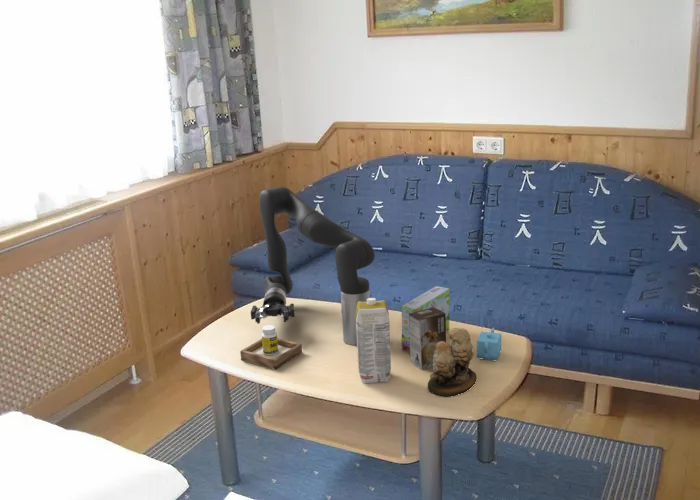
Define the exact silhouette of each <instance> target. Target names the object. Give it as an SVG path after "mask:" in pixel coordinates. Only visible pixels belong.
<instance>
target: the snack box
mask: <svg viewBox="0 0 700 500" xmlns="http://www.w3.org/2000/svg"><path fill="white" fill-rule="evenodd" d="M450 289H451V288H450V287H449V288H447V287H443V286H438V285H436V286H434V287H432V288H431V289H429V290H427V291H426V292H423V293H421V294H420V295H418V296H417V297H414V299H411V300H409V301H408V302H406V303H404V304H403V305H401V350H402V351H406V352H409V353H410V327H409V313H413V312H417V311H421V310H425V309H428V308H432V307H434V308H436V309H439V310H440V311H442V312H444V313H446V331H447V332H449V331H450V305H451V304H450V298H451V296H450V295H451V291H450ZM448 330H449V331H448Z"/></svg>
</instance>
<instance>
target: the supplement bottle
mask: <svg viewBox="0 0 700 500" xmlns="http://www.w3.org/2000/svg"><path fill="white" fill-rule="evenodd" d="M261 330H262V334H261V339H262V345H263V353H264V354H265V355H274V354H276V353H278V341H277V338H278V333H277V331H276V326H275V325H273V324H272V325H271V324H269V325H263V327H262V329H261Z"/></svg>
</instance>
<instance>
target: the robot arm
mask: <svg viewBox="0 0 700 500" xmlns="http://www.w3.org/2000/svg"><path fill="white" fill-rule="evenodd" d="M258 204H259V205H258V206H259V212H260V216H261V221H262V222H261V223H262V227H263V231H264V232H263V233H264V237H265V242H266V259H267V262H266V263H267V268H268V270H269V271H272V272H277V273H279V274H278V275H277V274H275V275H273V274H272V275H271V274H270V275H267V276H266V277H265V278H264V279H263V284H262V285H263V291H264V293H265V294H264V298H263V302H262V305H261V306H260V307H257V305H253V306H252V308H251V310H250V320H255V321H254V322H255V323H257V324H260V323H261V319H266V318H268V317H280V318H283V322H284V323H286V322H287V321H289V319H290V318H295V316H296V314H295V303H290V304H289V305H286V304H287V295H289V294H291V292H292V291H293V286H294V285H293V284H294V283H293V281H292V277H291V273H290V271H289V268H288V254H287V253H288V252H287V250H288V249H287V245H286V243H285V241H284V239H283V237H282V236H281V234H280V233H279V230H278V229H277V226H276V222H275V217H276V215H279V214H280V215H281V214H283V213H284V214H285V213H286V214H289V215H291V216H292V217H294V219H295V221H296V227H297V229H298V231H299V233H300V234H301V235H303V236H304V237H306V238H307V239H309V240H310V241H311V242H313V243H316V244H318V245H322V246H325V247H326V246H327V247H332V248H335V255H334V257H335V267H336V275H337V281H338V285H339V287H340V301H341V302H340V303H341V304H340V306H341V320H342V321H341V322H342V335H343V336H342V338H343V339H342V340H343V342H344V343H345V344H347V345H353V346H357V330H356V309H357V303H358V302H367V299H368V298H371V295H370V282H369V280H368V279H367V278H365V277H361V276H358V270H361V269H364V268H366V267H368V266H370V265H371V264H372V263H373V262H374V261H375V257H376V256H375V251H374V249H373V247H372V245H371V244H370V242H368V241H367V240H366V239H365V238H362V237H361V236H359V235H356V234H354V233H353V232H351V231H348V230H347V229H345V228H343V227H342V226H340V225H339V224H337V223H336V222H334V221H333V220H331V219H329V218H328V217H327V216H325V215H324V214H322V213H321V212H319V211H317V210H316V209H314V208H313V207H312V206H310V205H309V204H308V203H306V202H305V201H304V200H302V199H301V198H300V197H299V196H298V195H297V194H295V193H294V192H293V191H292V190H290V188H287V187H285V186H277V187H272V188H268V189H267V188H266V189H264V190H262V191H261V192H260V194H259V197H258Z"/></svg>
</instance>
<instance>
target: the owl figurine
mask: <svg viewBox="0 0 700 500" xmlns="http://www.w3.org/2000/svg"><path fill="white" fill-rule="evenodd" d="M448 337H449V339H450V341H451V342H450V344H449V342H447V341H446V342H444V341H440V342H438V343H437V346H436V349H435V351H434V355H433V357H434V359H433V367H432V369H433V371H434V372H432V373H430V374H429V377H430V378H429V380H428V383H427V389H428V391H429V393H431V394H432V395H434V396H437V397H439V398H440V397H442V398H451V396H453V397H457V396H459V395H458V394H460V395H462V394H461V393H463V394H465V393H467V392H468V391H469V389H470V388H471V387H472V386H473V385H474V384H475V385H476V383H477V381H476V380H477V379H478V377H477V373H476V372H475V371H474V370H472V369H471V368H470V367H469V366H470V363H471V360H472V358H473V356H474V352H473V349H474V345H473V344H472V342H471V340H472V338H471V334H470V333H469V331H468V330H467V329H465V328H459V327H452V328H451V329H449V331H448ZM475 382H476V383H475ZM475 385H474V386H475ZM474 386H473V387H474ZM473 387H472V388H473ZM472 388H471V389H472ZM471 389H470V390H471ZM467 390H468V391H467ZM466 391H467V392H466ZM464 392H465V393H464ZM456 395H457V396H456Z"/></svg>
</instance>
